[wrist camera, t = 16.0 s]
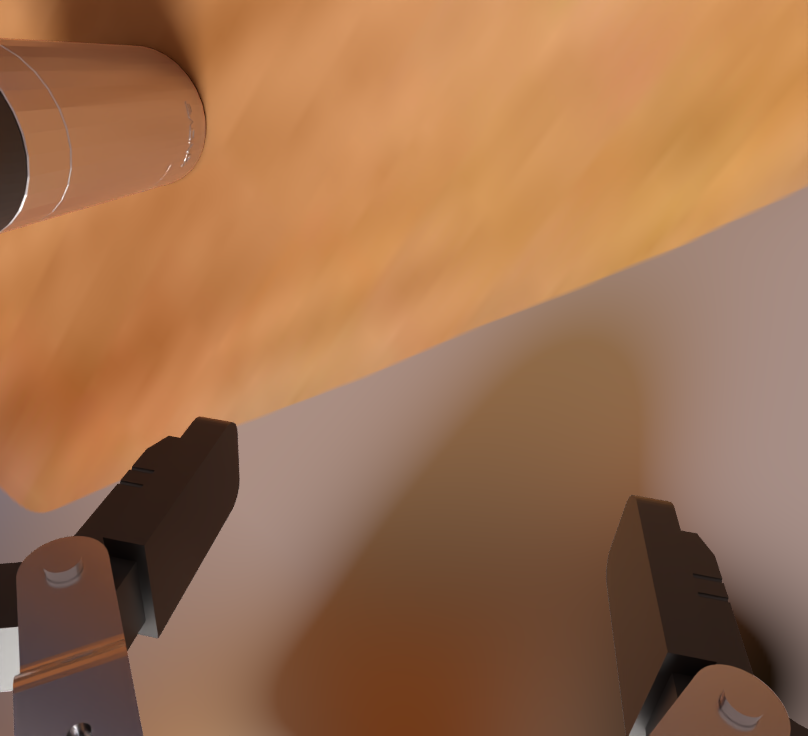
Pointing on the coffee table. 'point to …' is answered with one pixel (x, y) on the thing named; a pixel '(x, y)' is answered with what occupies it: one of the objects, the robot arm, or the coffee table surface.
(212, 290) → the coffee table surface
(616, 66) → the coffee table surface
